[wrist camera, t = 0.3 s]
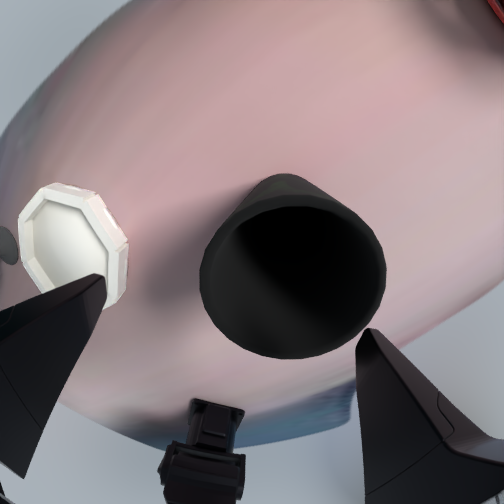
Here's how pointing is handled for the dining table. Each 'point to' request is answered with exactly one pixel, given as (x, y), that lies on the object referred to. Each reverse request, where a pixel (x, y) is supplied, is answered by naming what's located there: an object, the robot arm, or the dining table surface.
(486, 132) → the dining table surface
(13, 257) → the sundae
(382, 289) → the cup
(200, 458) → the robot arm
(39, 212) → the dish
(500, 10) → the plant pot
